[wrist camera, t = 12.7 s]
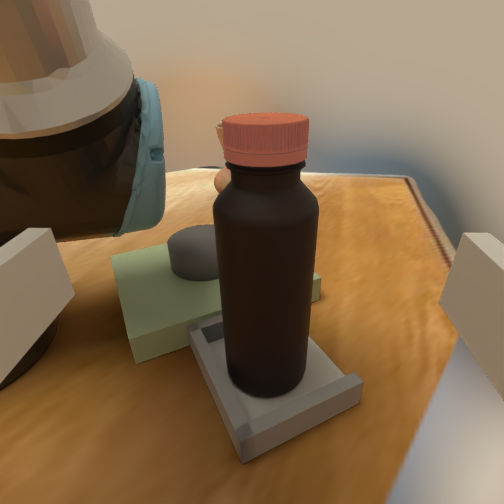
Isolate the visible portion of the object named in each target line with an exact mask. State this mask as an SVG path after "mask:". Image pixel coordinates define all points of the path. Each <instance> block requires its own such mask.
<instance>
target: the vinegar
mask: <svg viewBox="0 0 504 504" xmlns="http://www.w3.org/2000/svg"><path fill="white" fill-rule="evenodd" d="M222 130H223V146H224V158H225V160H226V161H227V162H226V163H225V165H226V167H227V169H229V170H230V173H231V181H230V182H229V183H228V185H227V186H226V187H225V188H224V189H223V190H222V191H221V193H220V194H219V195H218V197H217V198H216V200H215V202H214V204H213V217H214V229H215V240H216V251H217V263H218V274H219V285H220V297H221V308H222V319H223V331H224V342H225V353H226V364H227V370H228V374H229V376H230V378H231V379H232V381H233V382H234V384H235V385H236V386H237V387H239V388H240V389H241V390H242V391H244V392H246V393H248V394H251V395H254V396H256V397H269V398H270V397H275V396H280V395H284V394H285V393H287V392H289V391H291V390H293V389H294V388H295V387H296V386H297V385H298V384H299V383H300V381H301V380H302V378H303V375H304V373H305V370H306V360H307V348H308V336H309V324H310V312H311V300H312V288H313V276H314V264H315V252H316V240H317V228H318V216H319V206H318V201H317V198H316V197H315V196H314V195H313V193H312V192H311V191H310V190H309V189H308V188H307V187H306V186H305V184H304V183H303V182H302V181H301V180H300V171H301V169H302V168H304V167H305V159H306V158H307V143H308V130H309V119H308V118H307V117H306V116H303V115H299V114H291V113H249V114H240V115H233V116H229V117H226V118H225V119H223V120H222Z"/></svg>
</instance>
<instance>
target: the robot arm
mask: <svg viewBox="0 0 504 504" xmlns="http://www.w3.org/2000/svg"><path fill="white" fill-rule="evenodd" d="M163 140H164V137H163V123H162V114H161V105H160V99H159V94H158V90H157V87H156V86H155V84H153V83H152V82H150V81H144V80H143V79H141V78H136V79H134V74H133V69H132V65H131V62H130V59H129V57H128V55H127V54H126V52H125V50H124V49H123V48H122V47H121V46H120V45H119V44H117V43H116V42H115V41H114V40H112V39H111V38H109V37H108V36H106V35H105V34H104V33H102V32H100V31H99V30H98V29H97V27H96V24H95V20H94V17H93V13H92V9H91V5H90V2H89V0H0V389H1V388H2V387H4V386H5V385H7V384H8V383H10V382H11V381H13V380H14V379H15V378H17V377H18V376H19V375H21V374H22V373H23V372H24V371H26V370H27V369H28V368H29V367H30V366H31V365H32V364H33V363H34V362H35V361H36V360H37V359H38V358H39V357H40V356H41V355H42V354H43V353H44V351H45V350H46V349H47V348H48V346H49V345H50V343H51V341H52V339H53V337H54V335H55V332H56V329H57V318H56V317H57V315H58V314H59V313H60V312H61V311H62V310H63V308H64V307H65V306H66V305H67V304H68V302H69V301H70V300H71V299H72V298H73V296H74V295H75V292H74V290H73V287H72V284H71V282H70V279H69V276H68V274H67V271H66V268H65V265H64V263H63V260H62V257H61V255H60V252H59V249H58V247H57V244H56V243H59V242H68V241H76V240H85V239H94V238H103V237H112V236H113V237H119V236H121V235H123V234H124V233H130V232H135V231H140V230H146V229H150V228H153V227H154V226H156V225H157V224H158V223H159V222H160V220H161V219H162V217H163V214H164V210H165V195H166V179H165V160H164V156H163V153H164V145H163ZM439 304H440V306H441V307H442V309H443V310H444V312H445V313H446V315H447V316H448V318H449V319H450V321H451V322H452V324H453V325H454V327H455V328H456V330H457V331H458V333H459V334H460V336H461V337H462V339H463V340H464V342H465V343H466V345H467V346H468V348H469V349H470V351H471V352H472V354H473V356H474V357H475V359H476V360H477V362H478V363H479V365H480V366H481V368H482V369H483V371H484V372H485V373H486V375H487V376H488V378H489V380H490V381H491V383H492V384H493V386H494V387H495V389H496V390H497V391H498V393H499V395H500V396H501V398H502V399H503V400H504V245H503V244H502V243H501V242H500V241H498V240H497V239H496V238H495V237H493V236H492V235H491V234H490V233H463V235H462V238H461V241H460V243H459V246H458V249H457V252H456V255H455V258H454V261H453V263H452V266H451V269H450V272H449V275H448V278H447V281H446V283H445V286H444V289H443V292H442V295H441V298H440V301H439Z"/></svg>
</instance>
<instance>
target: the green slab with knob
mask: <svg viewBox="0 0 504 504" xmlns="http://www.w3.org/2000/svg"><path fill="white" fill-rule="evenodd" d="M110 257H111V262H112V267H113V271H114V276H115V280H116V285H117V289H118V294H119V298H120V303H121V307H122V312H123V317H124V321H125V326H126V330H127V335H128V339H129V343H130V346H131V350H132V353H133V357H134V360H135V364H138V363H141V362H143V361H146V360H149V359H152V358H155V357H158V356H161V355H163V354H166V353H169V352H172V351H175V350H178V349H180V348H183V347H186V346H189V345H190V347H191V349H192V352H193V354H194V356H195V358H196V361H197V363H198V365H199V368H200V370H201V372H202V374H203V377H204V379H205V381H206V384H207V386H208V388H209V390H210V393H211V395H212V397H213V399H214V402H215V404H216V406H217V409H218V411H219V413H220V415H221V418H222V420H223V422H224V425H225V427H226V429H227V431H228V434H229V436H230V438H231V440H232V443H233V445H234V447H235V450H236V452H237V454H238V456H239V459H240V461H241V463H242V464H244V463H246V462H248V461H249V460H251V459H253V458H255V457H257V456H259V455H261V454H263V453H265V452H267V451H269V450H270V449H272V448H274V447H276V446H278V445H280V444H282V443H284V442H286V441H288V440H290V439H292V438H293V437H295V436H297V435H299V434H301V433H303V432H305V431H307V430H309V429H311V428H313V427H314V426H316V425H318V424H320V423H322V422H324V421H326V420H328V419H330V418H332V417H334V416H336V415H337V414H339V413H341V412H343V411H345V410H347V409H349V408H351V407H353V406H355V405H357V404H358V403H359V401H360V397H361V392H362V387H363V383H364V381H363V380H362V379H361V378H360V377H359V376H358V375H357V374H356V373H355V372H353V373H351V374H349V375H346V376H345V375H344V374H343V373H342V372H341V370H340V369H339V368H338V367H337V366H336V365H335V364H334V363H333V362H332V360H331V359H330V358H329V357H328V356H327V355H326V354H325V353H324V352H323V351H322V349H321V348H320V347H319V346H318V345H317V344H316V343H315V342H314V341H313V339H312V338H311V337H310V336H308V348H307V360H306V370H305V373H304V375H303V378H302V380H301V381H300V383H299V384H298V385H297V386H296V387H295V388H294V389H293V390H291V391H289V392H287V393H285V394H284V395H280V396H275V397H270V398H269V397H256V396H254V395H251V394H248V393H246V392H244V391H242V390H241V389H240V388H239V387H237V386H236V385H235V384H234V382H233V381H232V379H231V378H230V376H229V374H228V370H227V364H226V353H225V342H224V331H223V319H222V308H221V297H220V285H219V274H218V263H217V251H216V240H215V229H214V225H197V226H192V227H188V228H185V229H182V230H180V231H178V232H176V233H175V234H173V235H172V236H171V237H170V238H169V240H168V242H167V243H165V244H161V245H157V246H152V247H148V248H143V249H139V250H134V251H130V252H126V253H121V254H117V255H112V256H110ZM320 287H321V277H320V276H319V275H318V274H317V273H315V272H314V276H313V288H312V300H311V302H314V301H317V300H319V298H320Z"/></svg>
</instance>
